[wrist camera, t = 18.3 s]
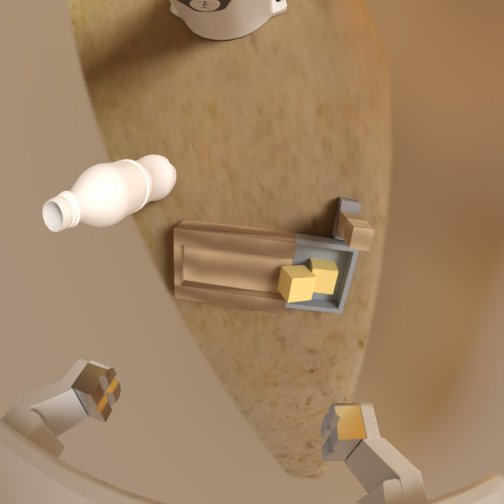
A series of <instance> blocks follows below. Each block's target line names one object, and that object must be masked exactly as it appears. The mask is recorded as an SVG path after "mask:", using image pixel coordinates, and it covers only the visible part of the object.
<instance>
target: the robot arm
mask: <svg viewBox="0 0 504 504" xmlns="http://www.w3.org/2000/svg"><path fill="white" fill-rule="evenodd" d="M169 1H170V2H171V7H170V10H171V12H172V13H173V14H174V15H175V16H177V17H180V18H182V19H183V20H184V21H185V23H186V24H187V26H188V27H189V28H190V30H192V31H193V32H194V33H196V34H197V35H199V36H201V37H204V38H208V39H213V40H229V39H235V38H239V37H242V36H245V35H247V34H249V33H251V32H253V31H255V30H256V29H258V28H259V27H260V26H262V25H263V24H264V23H265V22H266V21H267V20H268V19H269V18H271V17H273V16H276V15H279V14H281V13H283V12H285V11H286V9H287V3H286V0H280V2H276V0H169ZM115 375H116V372H115V370H114V368H111V367H108V366H105V365H102V364H100V363H97V362H94V361H91V360H89V359H86V358H83V357H81V358H79V359H78V360H77V361H76V363H75V364H74V365H73V367H72V368H71V369H70V371H69V372H68V373H67V375H66V376H65V377H64V379H63V380H62V381H61V383H60V382H56V383H54V384H51V385H49V386H47V387H44V388H42V389H40V390H37V391H35V392H32V393H30V394H27V395H25V396H23V397H20V398H18V399H16V401H15V402H14V403H13V405H12V406H11V407H10V409H9V410H8V411H7V413H6V414H5V416H4V417H3V418H2V419H1V418H0V504H166V503H163V502H159V501H156V500H152V499H149V498H146V497H143V496H140V495H137V494H135V493H132V492H129V491H126V490H124V489H121V488H119V487H116V486H114V485H111V484H109V483H107V482H104V481H102V480H100V479H98V478H95V477H93V476H91V475H89V474H87V473H85V472H83V471H81V470H79V469H77V468H75V467H73V466H71V465H70V464H68V463H66V462H64V461H62V460H60V459H59V456H60V454H61V452H62V451H63V449H64V446H63V444H62V443H61V441H60V440H59V439H58V438H57V436H59V435H61V434H62V433H64V432H65V431H67V430H69V429H70V428H72V427H73V426H75V425H76V424H78V423H79V422H81V421H83V420H84V419H86V418H87V417H88V416H90V417H93V418H96V419H98V420H101V421H104V422H106V421H107V419H108V417H109V415H110V413H111V411H112V408H111V405H112V404H114V403H116V402H117V400H118V398H119V395H120V391H121V390H120V384H119V381H118V380H117V379H116V378H115ZM321 435H322V438H323V439H324V441H325V443H324V445H323V447H322V452H323V461H345V464H346V465H347V466H348V468H349V469H350V470H351V472H352V473H353V474H354V476H355V477H356V478H357V479H358V481H359V482H360V483H361V485H362V486H363V487H364V489H365V490H366V491H367V493H368V494H367V495H366V496H364V497H363V498H361V499H360V500H359V501H358V502H357V503H356V504H504V477H503V476H501V475H499V474H492V475H489V476H487V477H485V478H483V479H481V480H479V481H477V482H474V483H472V484H470V485H468V486H465V487H463V488H460V489H458V490H456V491H453V492H450V493H448V494H445V495H442V496H439V497H436V498H434V499H430V500H427V499H426V494H425V489H424V484H423V480H422V475H421V472H420V471H419V470H417V469H416V468H415V467H414V466H413V465H412V464H411V463H410V462H409V461H408V460H407V459H406V458H405V457H403V455H402V454H400V453H399V452H398V451H397V450H396V449H395V448H394V447H393V446H392V445H391V444H390V443H389V442H388V441H387V440H386V439H385V438H380V434H379V431H378V426H377V422H376V417H375V414H374V409H373V405H372V404H371V403H332V404H331V405H330V407H329V414H327V415H325V417H324V419H323V422H322V429H321Z"/></svg>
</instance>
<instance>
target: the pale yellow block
mask: <svg viewBox="0 0 504 504" xmlns="http://www.w3.org/2000/svg"><path fill="white" fill-rule="evenodd" d="M315 282H316V276H315V275H314V274H313V273H312V272H311V271H310V270H309V269H308V268H307V267H306V266H305V265H294V266H281V270H280V276H279V282H278V288H277V289H278V291H279V292H280V293H281V295H282V296H283V297H284V299H285V300H286V301H287V302H288V303H290V302H299V301H307V300H311V299H312V295H313V290H314V286H315Z"/></svg>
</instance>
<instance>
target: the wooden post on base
mask: <svg viewBox="0 0 504 504" xmlns="http://www.w3.org/2000/svg"><path fill="white" fill-rule="evenodd" d="M360 207H361V203H360V202H358V201H357V200H352V199H347V198H341V197H339V199H338V205H337V210H336V216H335V221H334V227H333V232H332V235H333V236H334V238H335V239H339V240H344V241H345V242H346V244H347V246H348V247H349V248H351V249H357V250H364V251H370V248H371V244H372V240H373V235H374V231H375V230H374V229H373V228H372V227H371V226H370V225H369V224H368V223H367V222H366V221H365V220H364V219H363V218H362V217H361V216H360V215H359V212H360Z"/></svg>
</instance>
